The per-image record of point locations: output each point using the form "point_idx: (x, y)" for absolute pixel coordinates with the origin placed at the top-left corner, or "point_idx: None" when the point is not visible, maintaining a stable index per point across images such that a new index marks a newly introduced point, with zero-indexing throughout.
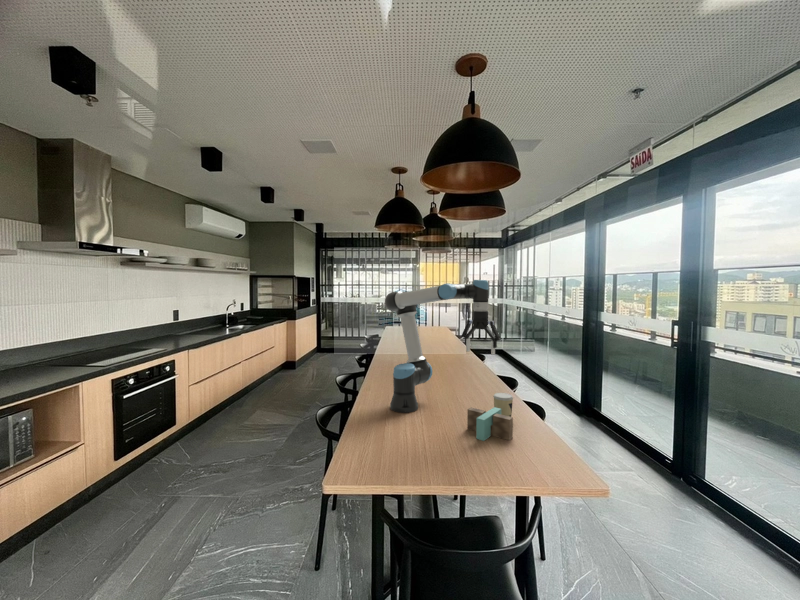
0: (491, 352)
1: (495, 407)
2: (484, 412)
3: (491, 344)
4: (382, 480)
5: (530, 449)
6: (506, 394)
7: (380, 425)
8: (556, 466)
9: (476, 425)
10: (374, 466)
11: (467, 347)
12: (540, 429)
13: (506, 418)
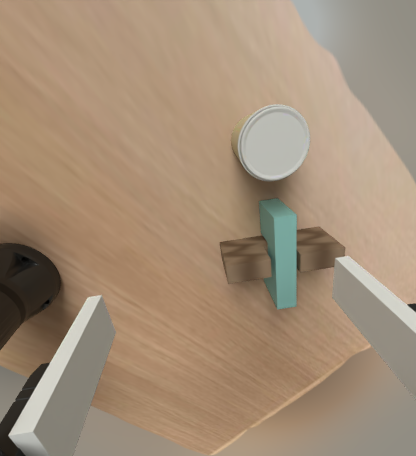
0: (344, 309)
1: (278, 217)
2: (270, 265)
3: (399, 376)
4: (240, 425)
5: (363, 244)
6: (279, 121)
7: None
8: (412, 266)
9: (272, 297)
10: (210, 419)
11: (102, 364)
12: (359, 129)
13: (334, 263)
